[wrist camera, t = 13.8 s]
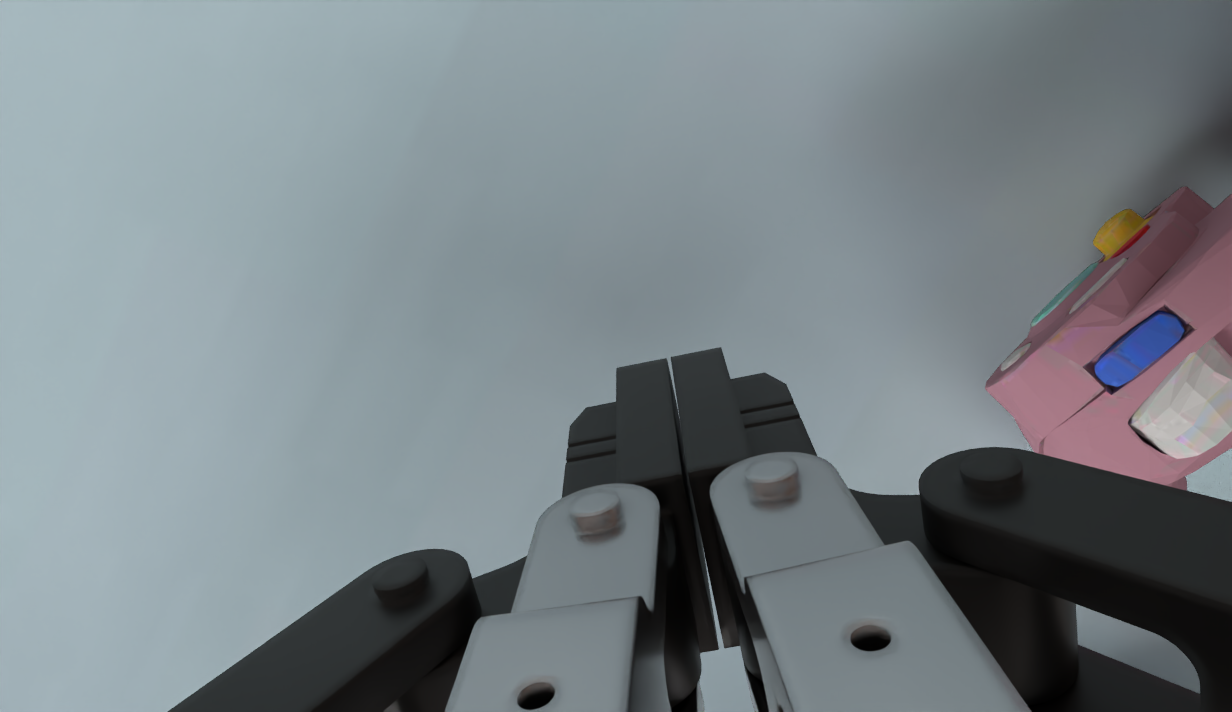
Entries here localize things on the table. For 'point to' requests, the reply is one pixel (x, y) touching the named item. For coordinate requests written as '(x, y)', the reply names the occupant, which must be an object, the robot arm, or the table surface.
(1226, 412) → the video game controller
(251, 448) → the table surface
